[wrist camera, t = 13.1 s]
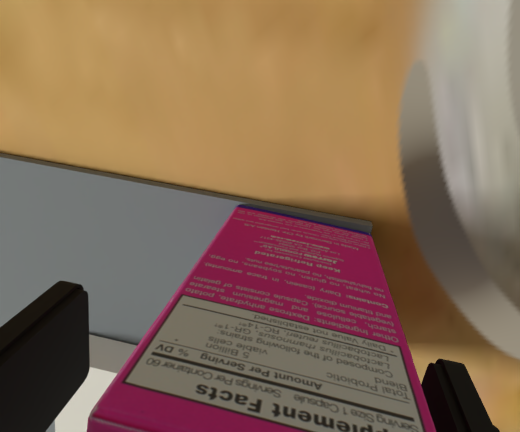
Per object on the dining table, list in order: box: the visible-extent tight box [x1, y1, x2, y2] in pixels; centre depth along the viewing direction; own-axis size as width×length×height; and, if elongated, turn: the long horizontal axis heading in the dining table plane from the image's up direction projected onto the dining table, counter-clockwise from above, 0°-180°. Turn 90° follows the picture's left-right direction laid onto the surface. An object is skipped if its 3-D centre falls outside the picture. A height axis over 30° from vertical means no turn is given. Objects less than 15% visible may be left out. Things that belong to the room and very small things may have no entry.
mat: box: [0, 153, 373, 432], centre depth 20 cm, size 18×18×1 cm
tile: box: [55, 334, 137, 432], centre depth 20 cm, size 2×7×8 cm
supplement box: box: [87, 205, 436, 432], centre depth 12 cm, size 6×6×12 cm
